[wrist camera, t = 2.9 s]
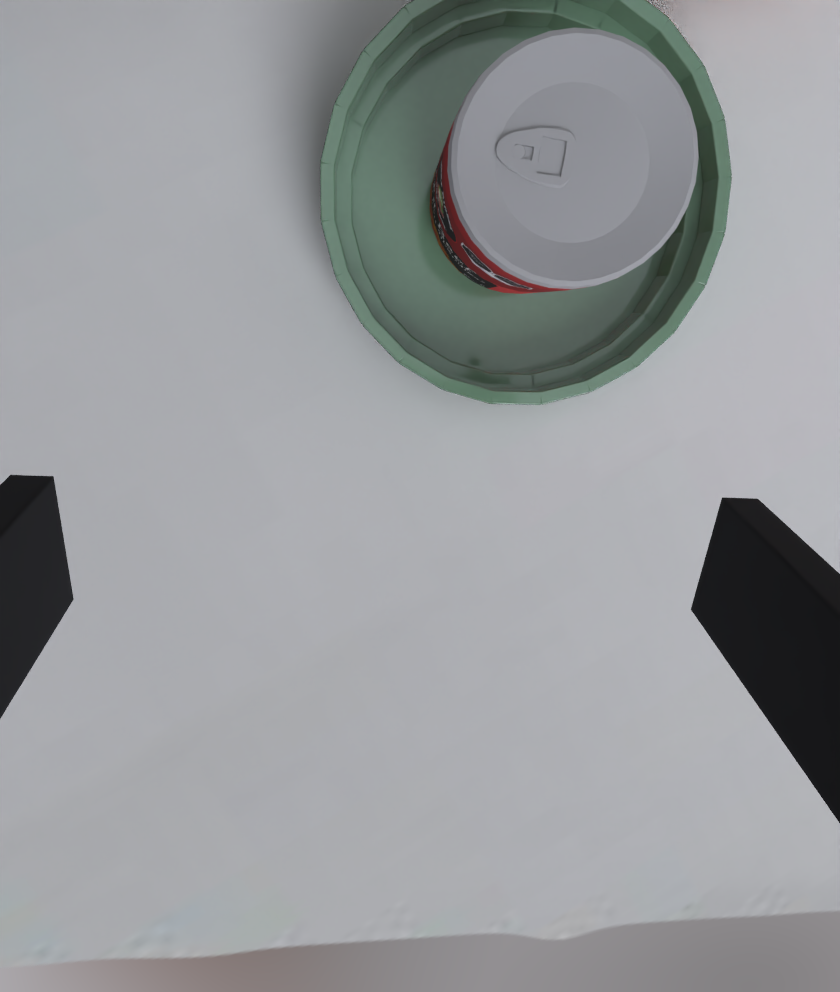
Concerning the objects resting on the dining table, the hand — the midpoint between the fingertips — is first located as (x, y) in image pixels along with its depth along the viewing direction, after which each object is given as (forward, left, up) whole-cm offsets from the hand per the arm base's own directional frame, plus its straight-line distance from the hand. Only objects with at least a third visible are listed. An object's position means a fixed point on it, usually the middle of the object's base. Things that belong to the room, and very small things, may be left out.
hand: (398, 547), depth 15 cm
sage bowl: (+3, +10, -22) cm, 24 cm away
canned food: (+3, +10, -22) cm, 24 cm away
